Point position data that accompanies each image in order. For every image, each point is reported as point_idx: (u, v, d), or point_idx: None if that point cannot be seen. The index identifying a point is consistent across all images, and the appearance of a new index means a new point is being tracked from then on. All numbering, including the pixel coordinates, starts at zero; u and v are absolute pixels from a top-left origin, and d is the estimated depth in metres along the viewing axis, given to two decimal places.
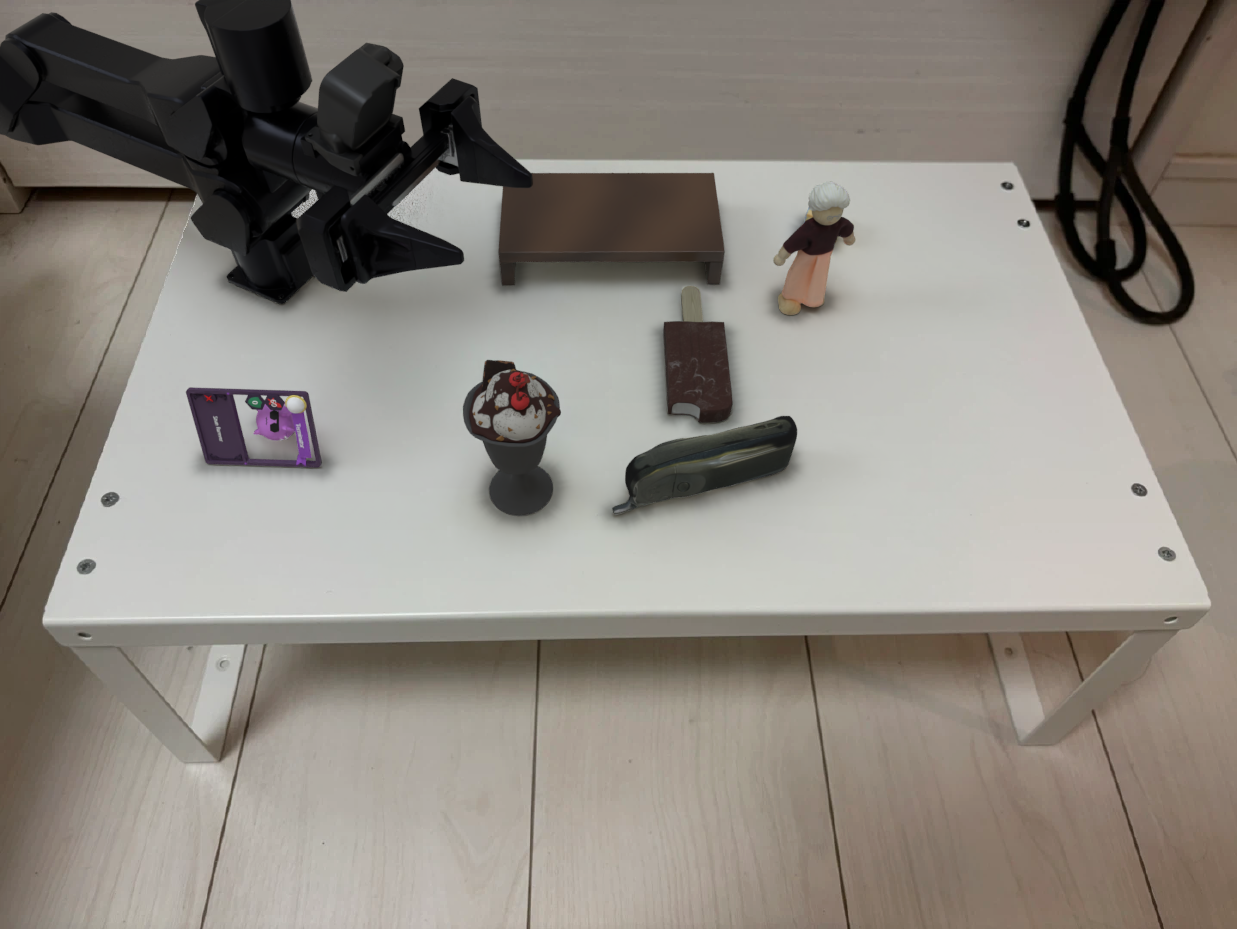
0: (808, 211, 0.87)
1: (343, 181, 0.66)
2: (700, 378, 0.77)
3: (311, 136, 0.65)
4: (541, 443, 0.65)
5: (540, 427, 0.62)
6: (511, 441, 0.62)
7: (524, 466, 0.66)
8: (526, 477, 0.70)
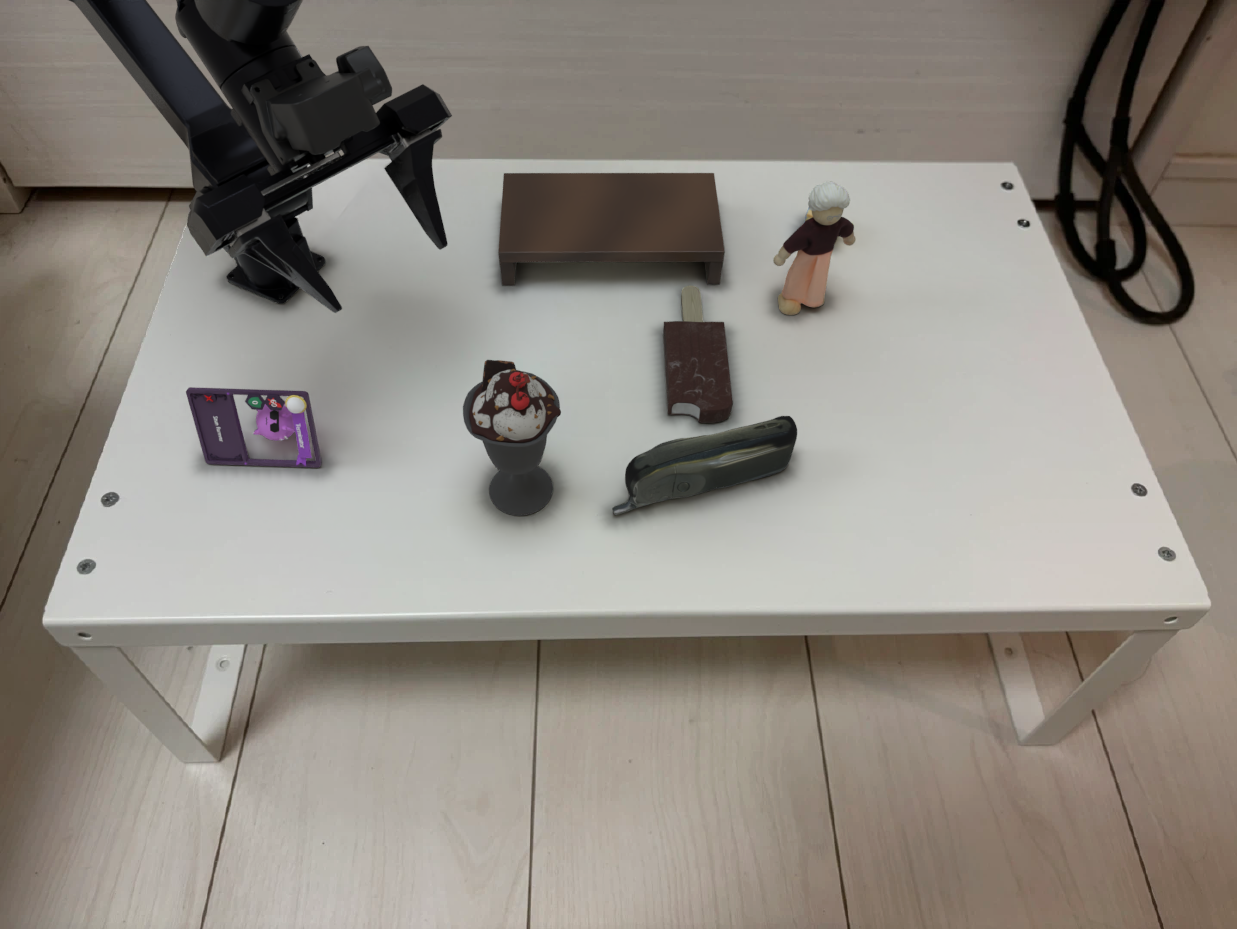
0: (808, 211, 0.87)
1: (266, 146, 0.60)
2: (700, 378, 0.77)
3: (257, 92, 0.58)
4: (541, 443, 0.65)
5: (540, 427, 0.62)
6: (511, 441, 0.62)
7: (524, 466, 0.66)
8: (526, 477, 0.70)
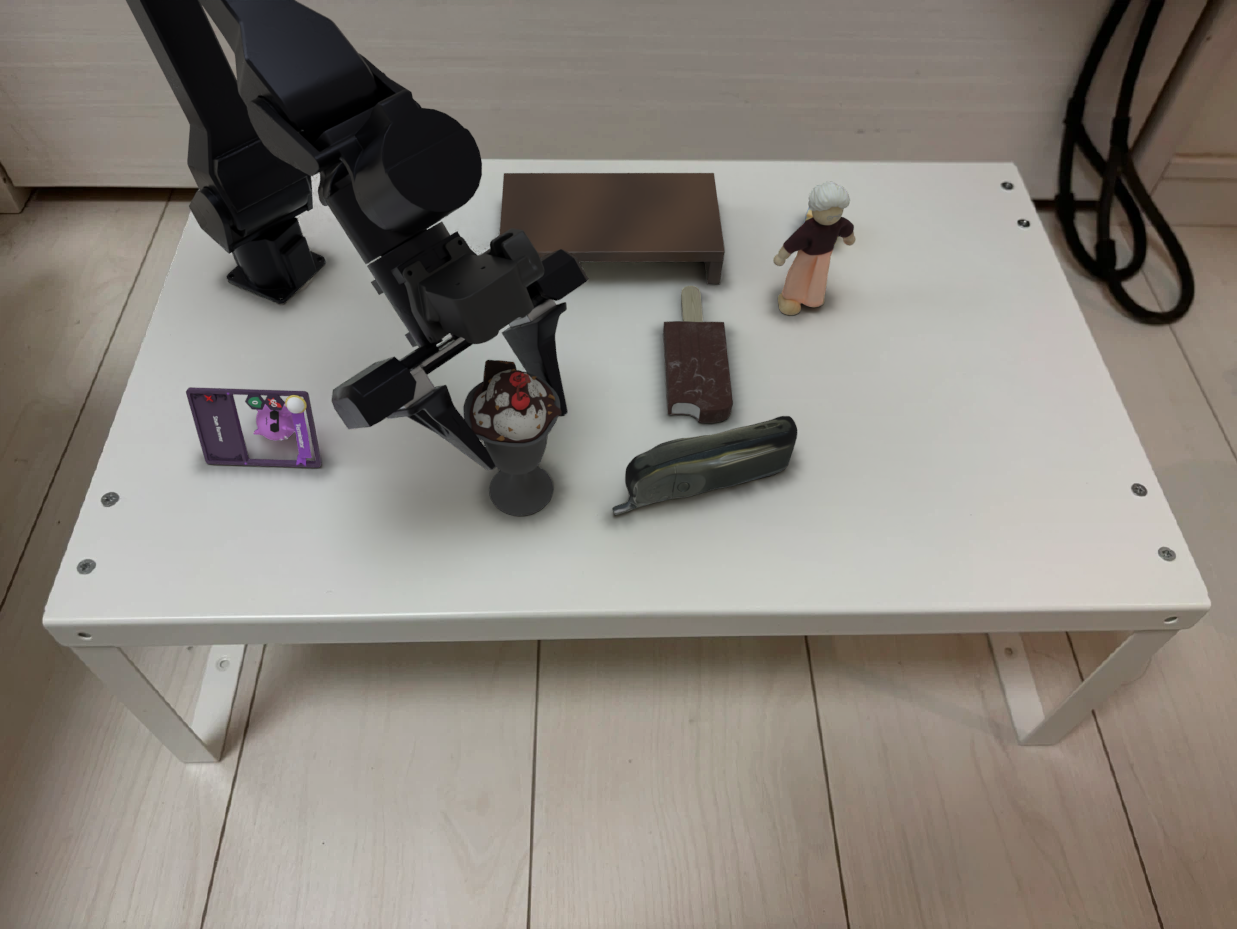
0: (808, 211, 0.87)
1: (412, 322, 0.60)
2: (700, 378, 0.77)
3: (410, 275, 0.57)
4: (541, 443, 0.65)
5: (541, 427, 0.62)
6: (511, 441, 0.62)
7: (524, 466, 0.66)
8: (526, 477, 0.70)
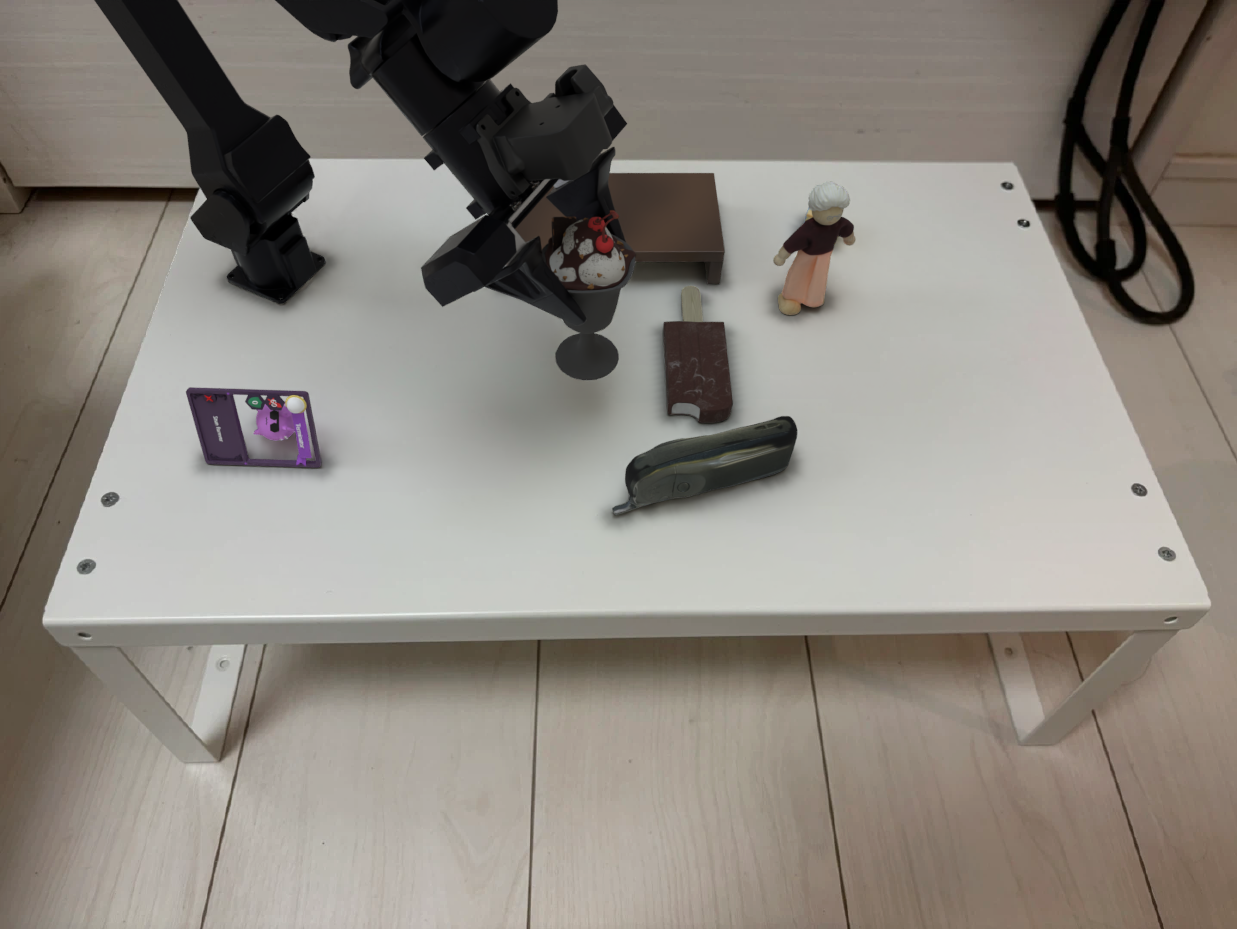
0: (808, 211, 0.87)
1: (485, 184, 0.59)
2: (700, 378, 0.77)
3: (484, 129, 0.57)
4: (619, 291, 0.66)
5: (624, 269, 0.63)
6: (601, 288, 0.63)
7: (605, 319, 0.66)
8: (594, 340, 0.71)
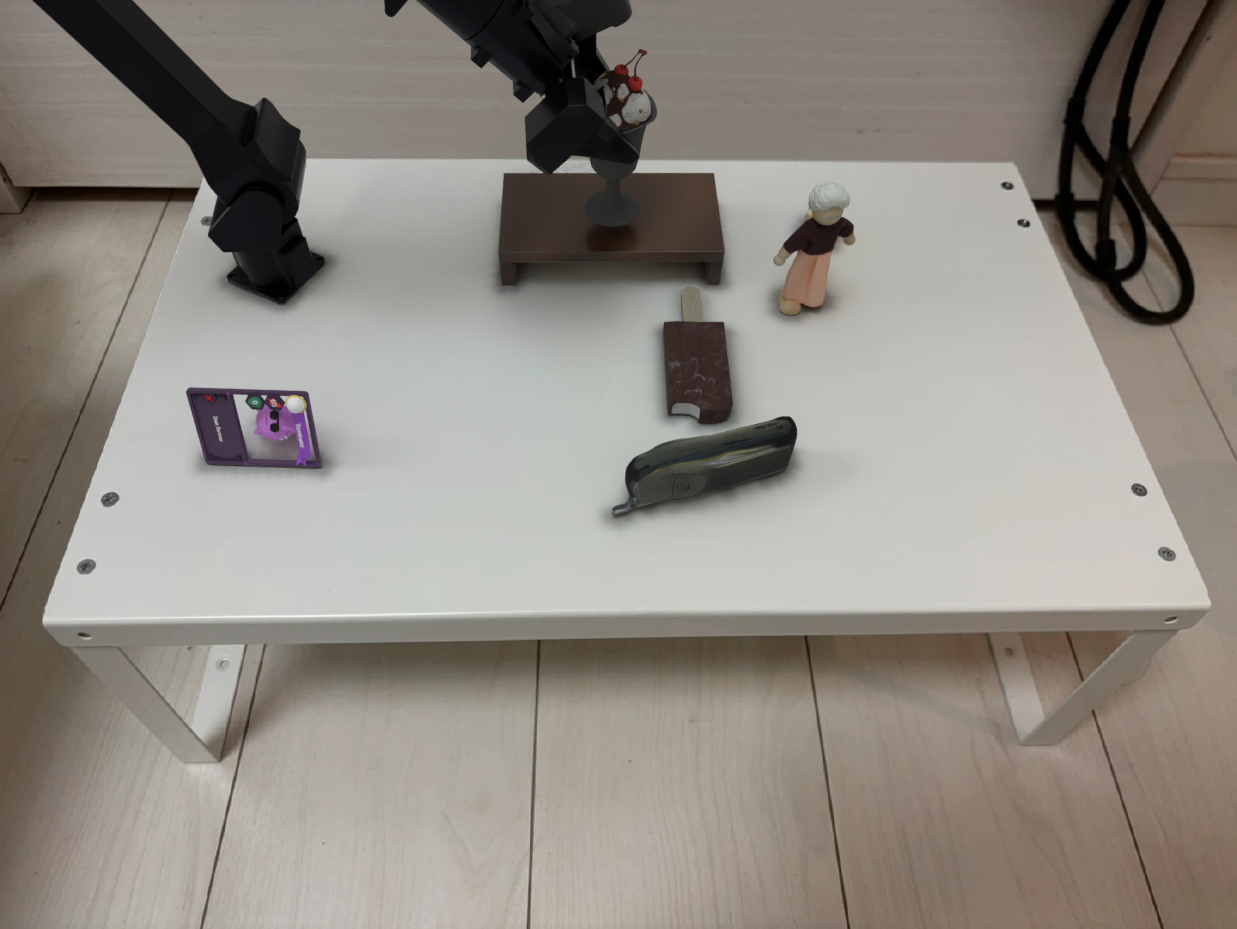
0: (808, 211, 0.87)
1: (539, 59, 0.67)
2: (700, 378, 0.77)
3: (535, 7, 0.65)
4: None
5: (649, 103, 0.74)
6: (643, 122, 0.73)
7: None
8: None
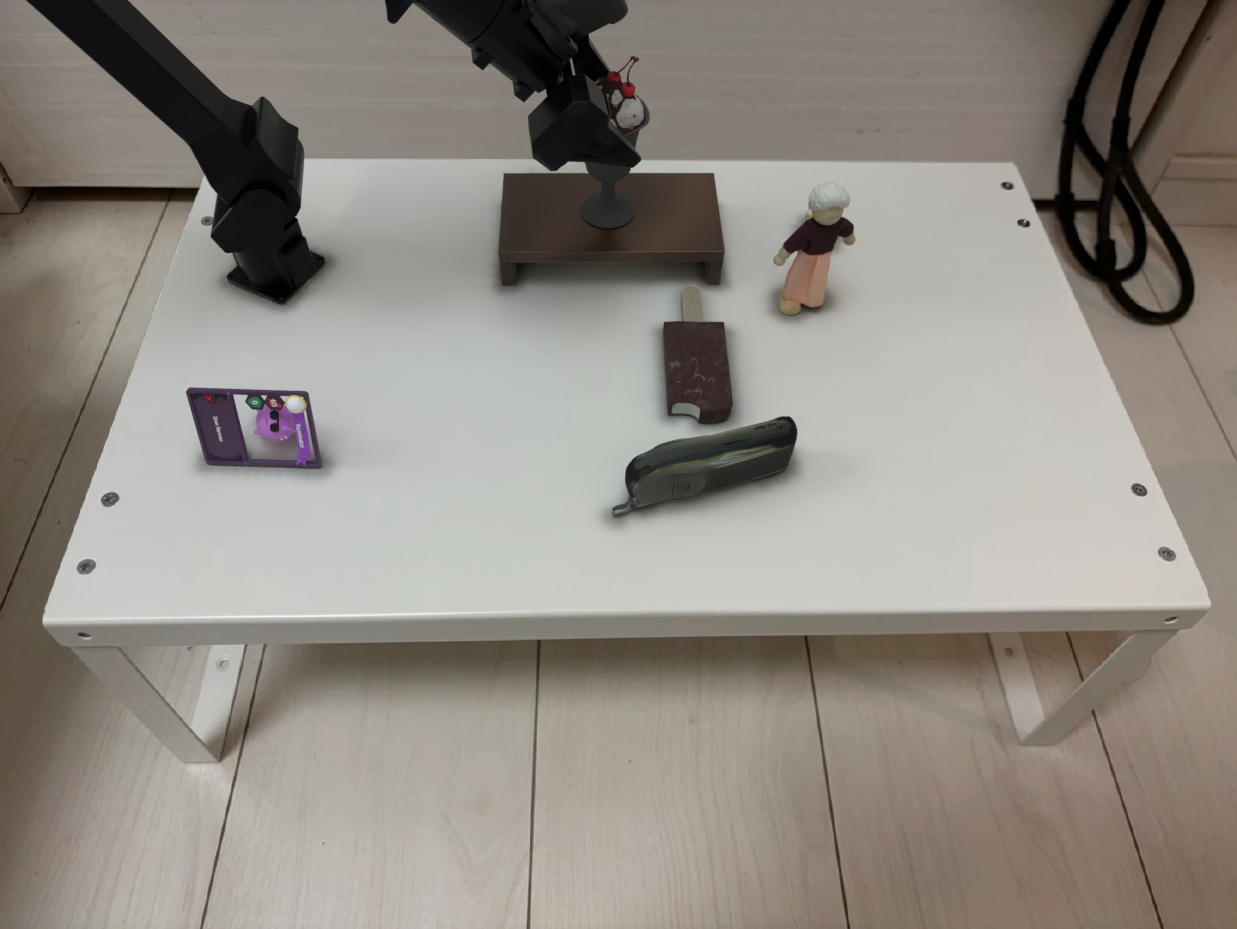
0: (808, 211, 0.87)
1: (540, 59, 0.69)
2: (700, 378, 0.77)
3: (534, 8, 0.66)
4: None
5: (642, 107, 0.77)
6: (637, 126, 0.76)
7: None
8: None
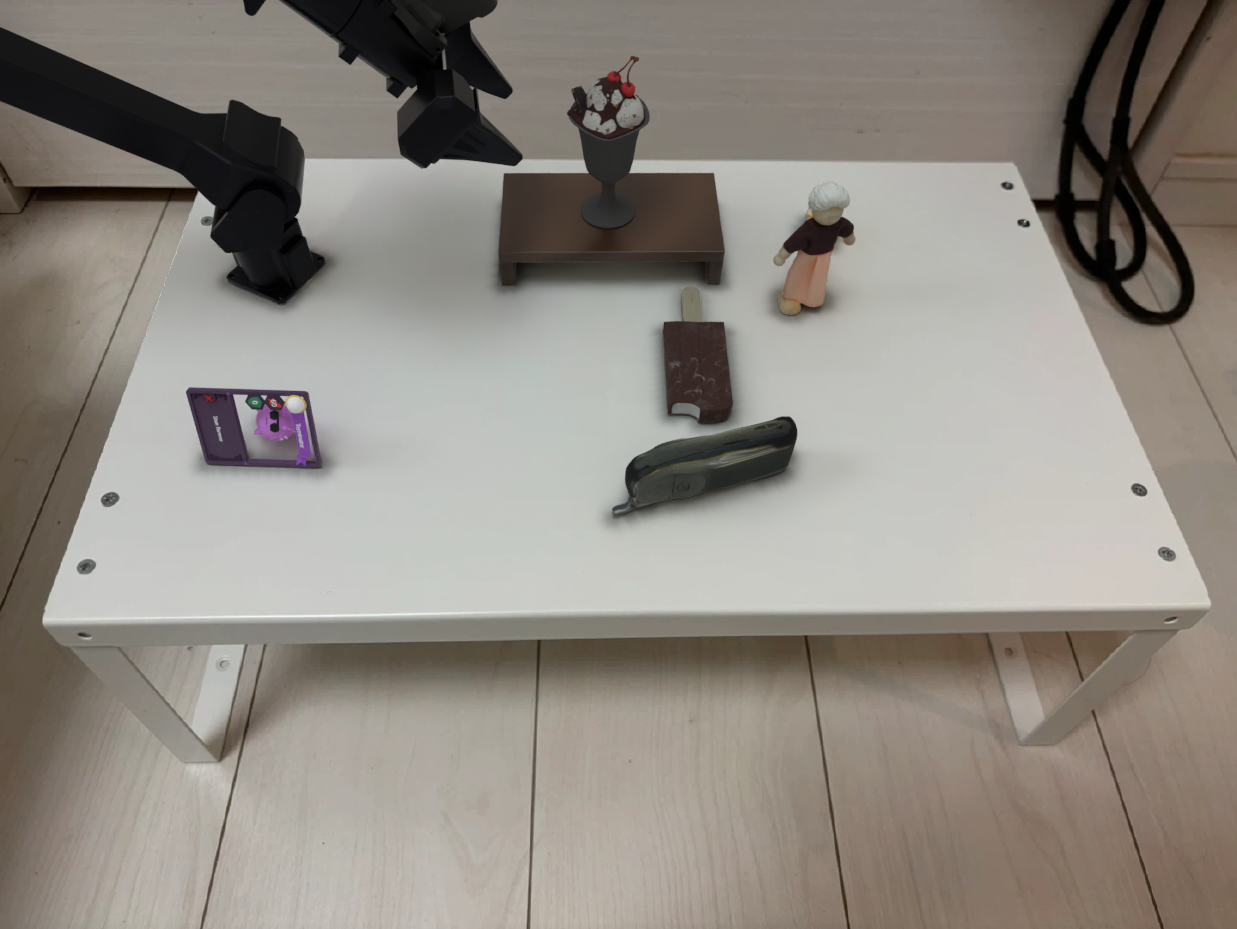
0: (808, 211, 0.87)
1: (408, 53, 0.67)
2: (700, 378, 0.77)
3: (397, 0, 0.65)
4: None
5: (642, 107, 0.77)
6: (637, 126, 0.76)
7: (632, 160, 0.80)
8: None
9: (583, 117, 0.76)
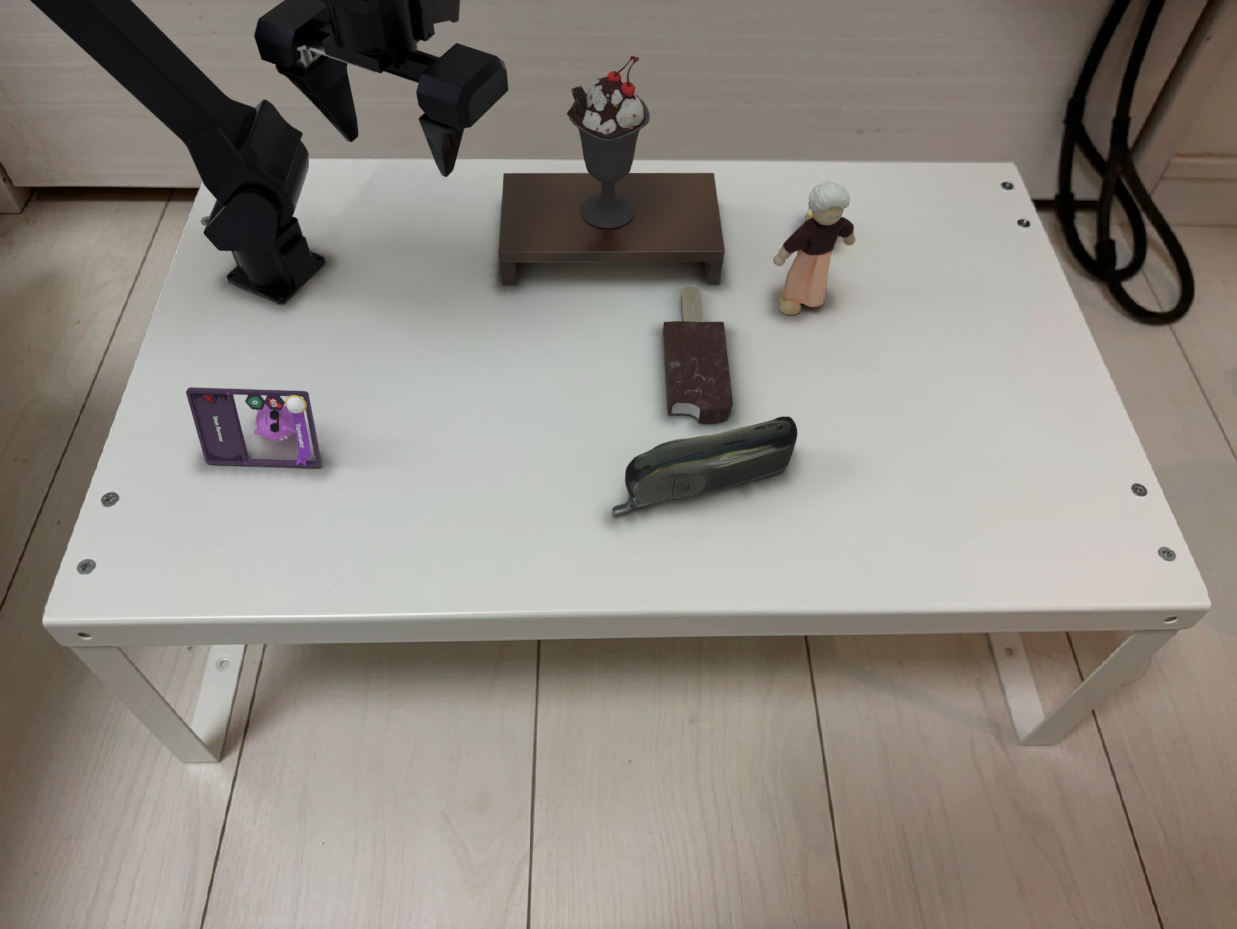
0: (808, 211, 0.87)
1: (410, 27, 0.65)
2: (700, 378, 0.77)
3: None
4: None
5: (642, 107, 0.77)
6: (637, 126, 0.76)
7: (632, 160, 0.80)
8: None
9: (583, 117, 0.76)
